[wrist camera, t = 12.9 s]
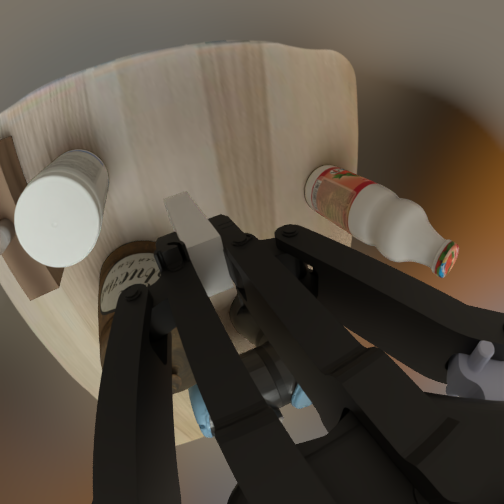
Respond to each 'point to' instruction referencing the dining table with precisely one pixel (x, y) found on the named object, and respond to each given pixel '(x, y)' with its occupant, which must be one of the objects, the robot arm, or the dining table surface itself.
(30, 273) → the bench stop
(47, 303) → the dining table surface
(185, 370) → the wooden container
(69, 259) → the supplement tub
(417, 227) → the fruit juice
